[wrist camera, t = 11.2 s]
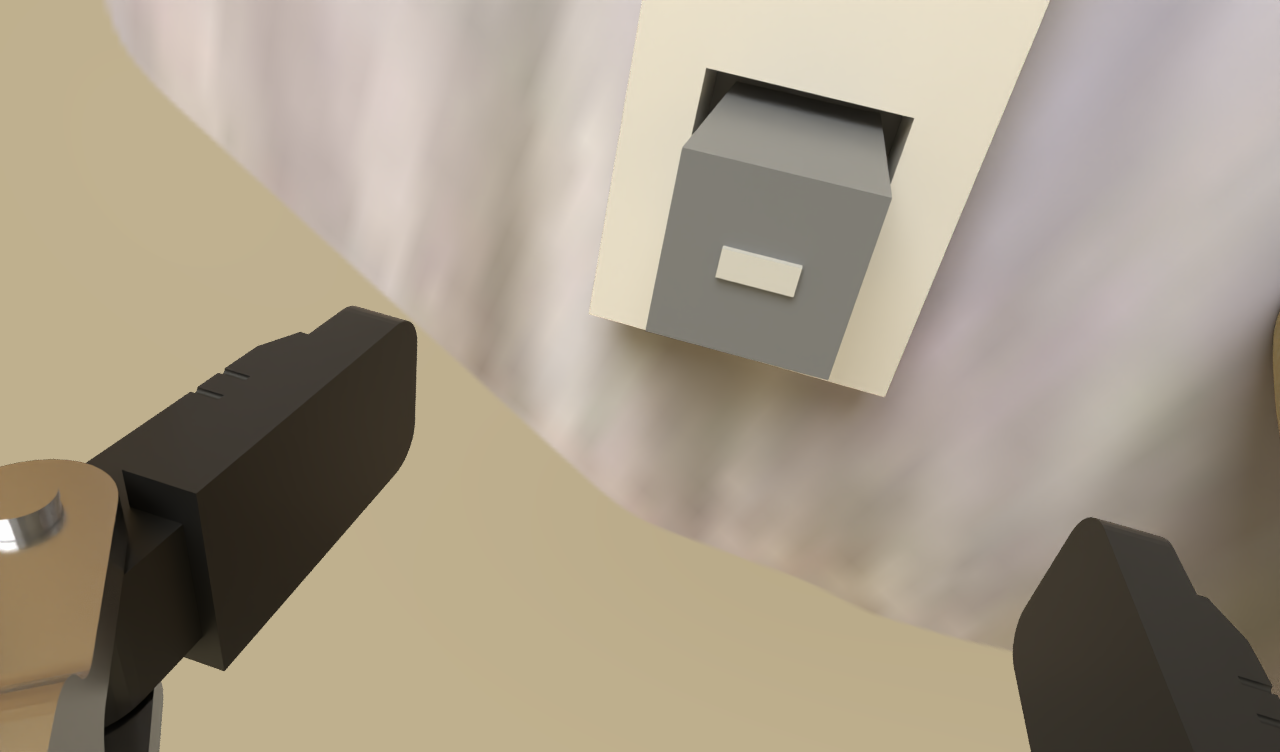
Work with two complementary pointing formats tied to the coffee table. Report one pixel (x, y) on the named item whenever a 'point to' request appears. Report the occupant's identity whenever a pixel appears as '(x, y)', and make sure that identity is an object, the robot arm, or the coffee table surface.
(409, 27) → the coffee table surface
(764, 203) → the block
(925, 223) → the outlet plate
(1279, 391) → the plant pot
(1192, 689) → the robot arm
